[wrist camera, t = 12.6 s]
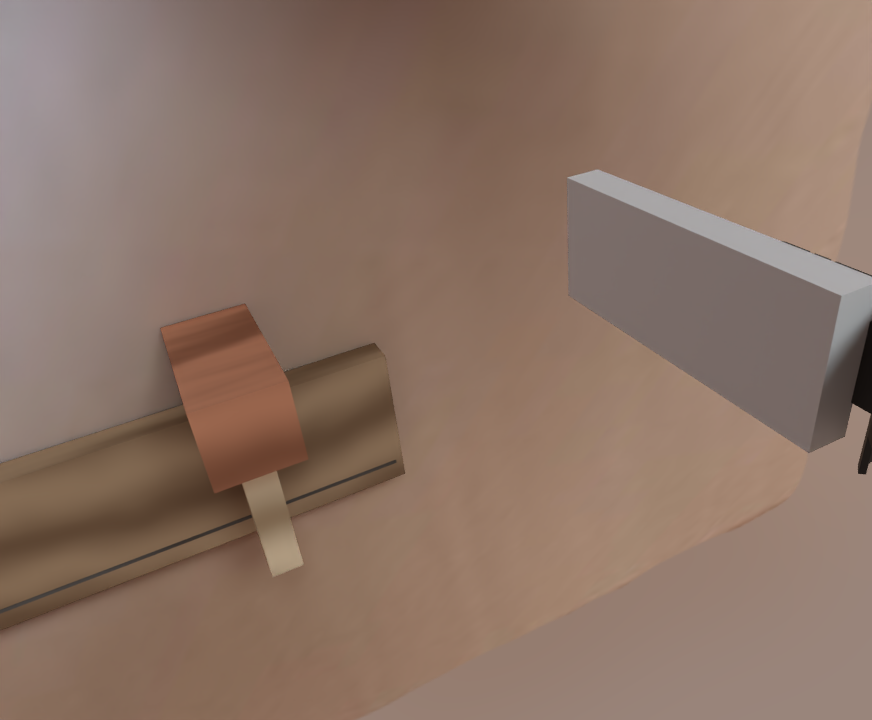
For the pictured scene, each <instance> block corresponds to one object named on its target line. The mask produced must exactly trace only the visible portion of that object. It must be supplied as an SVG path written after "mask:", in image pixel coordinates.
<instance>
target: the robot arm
mask: <svg viewBox="0 0 872 720" xmlns="http://www.w3.org/2000/svg"><path fill="white" fill-rule="evenodd" d="M567 208H568V284H569V296H570V297H572V298H573V299H575V300H576V301H578V302H579V303H581V304H582V305H584V306H585V307H587V308H588V309H590V310H591V311H593V312H594V313H596V314H598V315H599V316H601V317H602V318H604V319H605V320H607V321H608V322H610V323H611V324H613V325H614V326H616V327H617V328H619V329H620V330H622V331H623V332H625V333H627V334H628V335H630V336H631V337H633V338H634V339H636V340H637V341H639V342H640V343H642V344H643V345H645V346H646V347H648V348H649V349H651V350H652V351H654V352H655V353H657V354H659V355H660V356H662V357H663V358H665V359H666V360H668V361H669V362H671V363H672V364H674V365H675V366H677V367H678V368H680V369H681V370H683V371H684V372H686V373H688V374H689V375H691V376H692V377H694V378H695V379H697V380H698V381H700V382H701V383H703V384H704V385H706V386H707V387H709V388H710V389H712V390H713V391H715V392H716V393H718V394H720V395H721V396H723V397H724V398H726V399H727V400H729V401H730V402H732V403H733V404H735V405H736V406H738V407H739V408H741V409H742V410H744V411H745V412H747V413H749V414H750V415H752V416H753V417H755V418H756V419H758V420H759V421H761V422H762V423H764V424H765V425H767V426H768V427H770V428H771V429H773V430H774V431H776V432H777V433H779V434H781V435H782V436H784V437H785V438H787V439H788V440H790V441H791V442H793V443H794V444H796V445H797V446H799V447H800V448H802V449H803V450H805V451H806V452H808V453H810V452H812V451H815V450H817V449H819V448H821V447H823V446H825V445H828V444H830V443H832V442H834V441H836V440H838V439H840V438H843V437H845V433H846V429H847V425H848V420H849V416H850V412H851V408H852V404H855V405H856V406H858V407H860V408H862V409H863V410H865V411H867V412H869V413H871V416H870V420H869V425H868V428H867V432H866V436H865V440H864V444H863V448H862V452H861V456H860V460H859V463H858V474H866V471H867V468H868V464H869V463H870V462H872V275H869V274H867V273H864V272H861V271H859V270H856V269H854V268H851V267H849V266H846V265H843V264H841V263H838V262H833V261H831V259H828V258H826V257H823V256H820V255H818V254H813V253H810V251H808V250H805V249H803V248H800V247H797V246H795V245H792V244H790V243H787V242H784V241H779V240H777V239H774V238H772V237H769V236H767V235H764V234H761V233H759V232H756V231H754V230H751V229H749V228H746V227H744V226H741V225H738V224H736V223H733V222H731V221H728V220H726V219H723V218H721V217H718V216H715V215H713V214H710V213H708V212H705V211H703V210H700V209H698V208H695V207H693V206H690V205H687V204H685V203H682V202H680V201H677V200H675V199H672V198H670V197H667V196H664V195H662V194H659V193H657V192H654V191H652V190H649V189H647V188H644V187H641V186H639V185H636V184H634V183H631V182H629V181H626V180H624V179H621V178H618V177H616V176H613V175H611V174H608V173H606V172H603V171H601V170H598V169H597V170H594V171H590V172H586V173H583V174H579V175H575V176H572V177H568V178H567Z"/></svg>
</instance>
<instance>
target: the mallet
mask: <svg viewBox="0 0 872 720" xmlns="http://www.w3.org/2000/svg"><path fill="white" fill-rule="evenodd" d="M160 329H161V332H162V335H163V339H164V342H165V345H166V349H167V352H168V355H169V359H170V362H171V365H172V369H173V372H174V375H175V378H176V382H177V385H178V388H179V392H180V395H181V398H182V402H183V405H184V408H185V412H186V415H187V418H188V420H189V423H190V426H191V429H192V432H193V435H194V437H195V440H196V443H197V446H198V449H199V451H200V454H201V457H202V460H203V463H204V465H205V468H206V471H207V474H208V477H209V480H210V482H211V485H212V488H213V491H214V494H215V493H217V492H220V491H223V490H225V489H228V488H231V487H234V486H236V485H239V484H242V487H243V490H244V493H245V496H246V499H247V502H248V505H249V508H250V511H251V514H252V517H253V520H254V523H255V527H256V530H257V533H258V536H259V539H260V542H261V545H262V548H263V551H264V554H265V557H266V560H267V563H268V565H269V568H270V571H271V574H272V576H273V577H275V576H277V575H280V574H282V573H285V572H287V571H290V570H292V569H295V568H297V567H299V566H302V565H304V564H303V560H302V557H301V553H300V550H299V546H298V543H297V539H296V536H295V533H294V529H293V526H292V522H291V519H290V515H289V512H288V508H287V505H286V501H285V498H284V494H283V491H282V488H281V484H280V481H279V477H278V474H277V471H278V470H280V469H283V468H286V467H289V466H291V465H294V464H297V463H300V462H302V461H305V460H308V455H307V451H306V447H305V443H304V439H303V435H302V432H301V428H300V424H299V420H298V416H297V412H296V408H295V404H294V400H293V396H292V393H291V389H290V385H289V381H288V379H287V377H286V375H285V374H284V372H283V370H282V368H281V367H280V365H279V363H278V361H277V360H276V358H275V356H274V354H273V352H272V351H271V349H270V347H269V345H268V344H267V342H266V340H265V338H264V336H263V335H262V333H261V331H260V329H259V328H258V326H257V324H256V322H255V321H254V319H253V317H252V315H251V313H250V312H249V310H248V308H247V306H246V305H245V304H242V305H239V306H235V307H232V308H228V309H225V310H221V311H218V312H214V313H211V314H207V315H204V316H200V317H197V318H193V319H190V320H186V321H183V322H179V323H176V324H172V325H169V326H165V327H162V328H160Z"/></svg>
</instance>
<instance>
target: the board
mask: <svg viewBox="0 0 872 720" xmlns="http://www.w3.org/2000/svg"><path fill="white" fill-rule="evenodd" d="M284 374H285V375H286V377H287V379H288V381H289V385H290V389H291V393H292V396H293V400H294V404H295V408H296V412H297V416H298V420H299V424H300V428H301V432H302V435H303V439H304V443H305V447H306V451H307V455H308V460H305V461H302V462H300V463H297V464H294V465H291V466H289V467H286V468H283V469H280V470H278V471H277V474H278V477H279V481H280V484H281V488H282V491H283V494H284V498H285V501H286V505H287V508H288V512H289V515H290V518H291V517H294V516H297V515H299V514H302V513H304V512H307V511H310V510H312V509H315V508H317V507H320V506H322V505H325V504H328V503H330V502H333V501H335V500H338V499H340V498H343V497H346V496H348V495H351V494H353V493H356V492H359V491H361V490H364V489H366V488H369V487H371V486H374V485H377V484H379V483H382V482H384V481H387V480H390V479H392V478H395V477H397V476H400V475H402V474H405V470H404V464H403V458H402V452H401V446H400V440H399V434H398V428H397V423H396V417H395V411H394V405H393V399H392V393H391V387H390V381H389V375H388V370H387V364H386V358H385V355H384V354H383V353H382V352H381V350H380V349H379V348H378V347H377V346H376V344H375V343H372V344H369V345H366V346H363V347H360V348H357V349H354V350H351V351H348V352H345V353H341V354H338V355H335V356H332V357H329V358H326V359H323V360H320V361H317V362H314V363H310V364H307V365H304V366H301V367H298V368H295V369H292V370H289V371H286V372H284ZM255 531H257V530H256V527H255V523H254V520H253V517H252V514H251V511H250V508H249V505H248V502H247V499H246V496H245V493H244V490H243V487H242V484H239V485H236V486H234V487H231V488H228V489H225V490H223V491H220V492H217V493H215V494H214V491H213V488H212V485H211V482H210V480H209V477H208V474H207V471H206V468H205V465H204V463H203V460H202V457H201V454H200V451H199V449H198V446H197V443H196V440H195V437H194V435H193V432H192V429H191V426H190V423H189V420H188V418H187V415H186V412H185V408H184V405H180V406H177V407H174V408H171V409H168V410H165V411H162V412H159V413H156V414H152V415H149V416H146V417H143V418H140V419H137V420H134V421H131V422H128V423H125V424H121V425H118V426H115V427H112V428H109V429H106V430H103V431H100V432H97V433H94V434H90V435H87V436H84V437H81V438H78V439H75V440H72V441H69V442H66V443H63V444H59V445H56V446H53V447H50V448H47V449H44V450H41V451H38V452H35V453H32V454H29V455H25V456H22V457H19V458H16V459H13V460H10V461H7V462H4V463H1V464H0V630H2V629H5V628H8V627H10V626H13V625H15V624H18V623H21V622H23V621H26V620H28V619H31V618H33V617H36V616H39V615H41V614H44V613H46V612H49V611H52V610H54V609H57V608H59V607H62V606H64V605H67V604H70V603H72V602H75V601H77V600H80V599H82V598H85V597H88V596H90V595H93V594H95V593H98V592H101V591H103V590H106V589H108V588H111V587H113V586H116V585H119V584H121V583H124V582H126V581H129V580H131V579H134V578H137V577H139V576H142V575H144V574H147V573H150V572H152V571H155V570H157V569H160V568H162V567H165V566H168V565H170V564H173V563H175V562H178V561H181V560H183V559H186V558H188V557H191V556H193V555H196V554H199V553H201V552H204V551H206V550H209V549H211V548H214V547H217V546H219V545H222V544H224V543H227V542H230V541H232V540H235V539H237V538H240V537H242V536H245V535H248V534H250V533H253V532H255Z"/></svg>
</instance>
